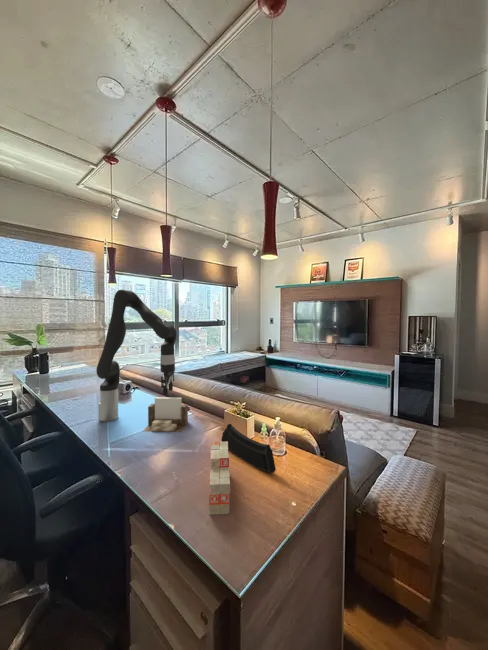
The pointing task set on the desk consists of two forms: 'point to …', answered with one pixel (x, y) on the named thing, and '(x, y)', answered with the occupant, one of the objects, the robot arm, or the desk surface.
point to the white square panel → (168, 408)
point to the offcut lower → (164, 428)
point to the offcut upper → (161, 423)
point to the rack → (174, 421)
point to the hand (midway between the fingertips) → (168, 392)
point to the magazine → (249, 449)
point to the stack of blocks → (219, 479)
